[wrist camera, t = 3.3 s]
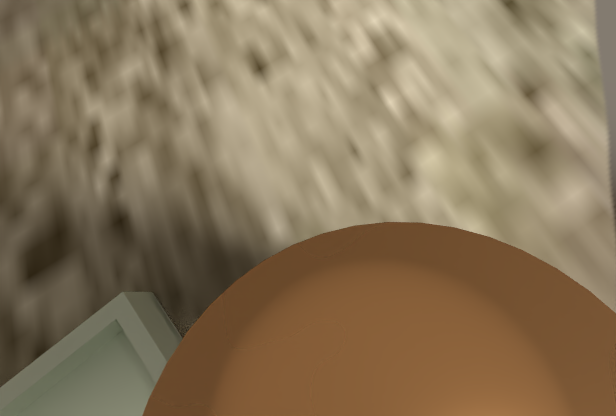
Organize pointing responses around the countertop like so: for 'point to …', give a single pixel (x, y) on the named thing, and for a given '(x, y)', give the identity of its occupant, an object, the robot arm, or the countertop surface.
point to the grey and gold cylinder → (396, 333)
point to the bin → (98, 364)
